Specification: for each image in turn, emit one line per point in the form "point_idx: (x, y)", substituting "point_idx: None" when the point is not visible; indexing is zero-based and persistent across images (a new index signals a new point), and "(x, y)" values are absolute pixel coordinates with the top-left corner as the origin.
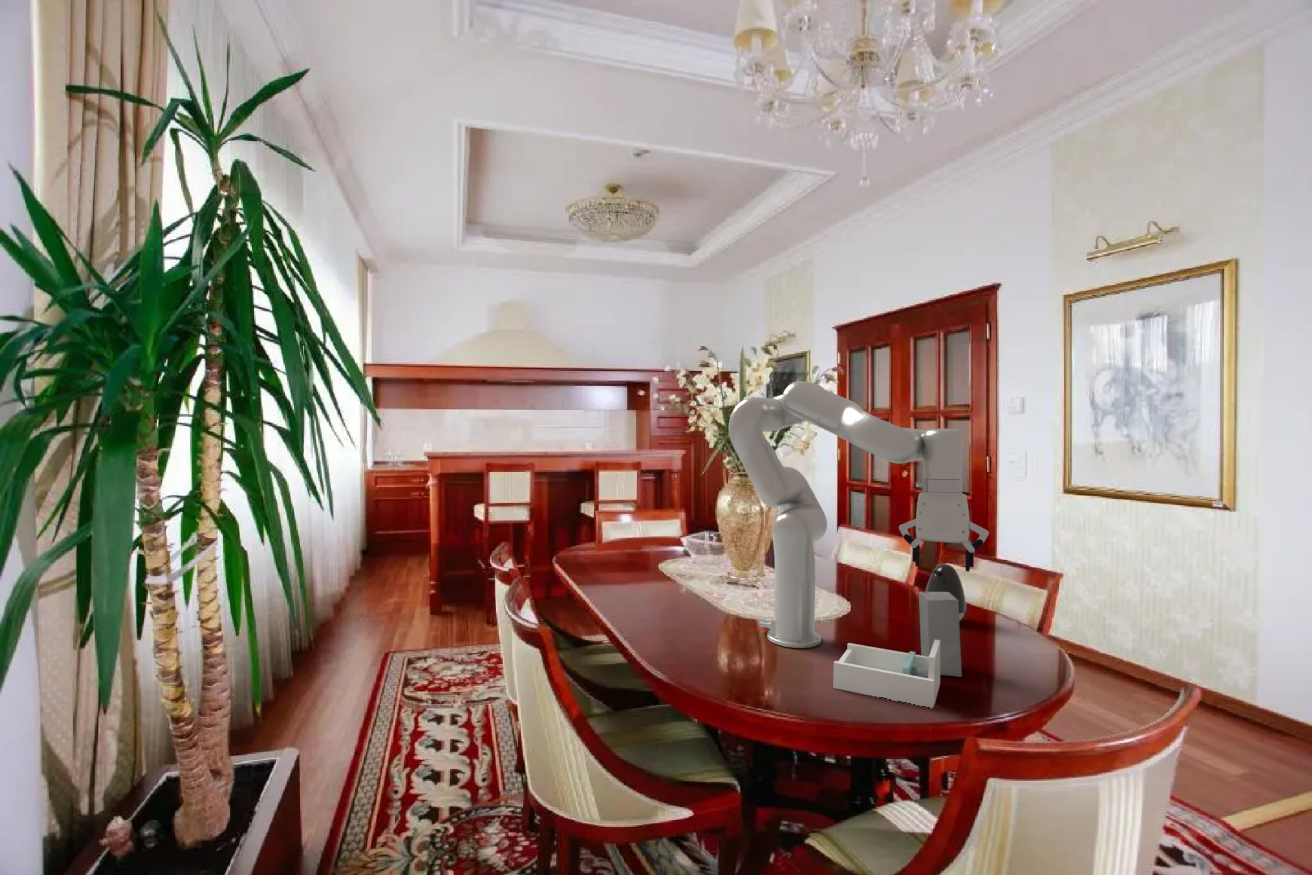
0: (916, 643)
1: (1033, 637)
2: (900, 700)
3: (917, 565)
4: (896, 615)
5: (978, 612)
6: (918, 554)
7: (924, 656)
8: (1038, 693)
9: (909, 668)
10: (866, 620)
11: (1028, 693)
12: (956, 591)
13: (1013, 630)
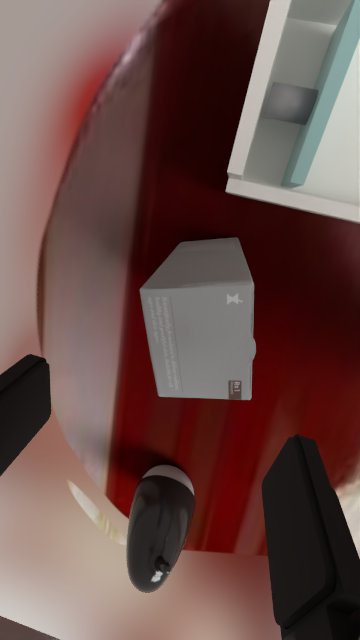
0: None
1: (67, 429)
2: None
3: (303, 438)
4: (236, 493)
5: (123, 502)
6: (317, 519)
7: (261, 196)
8: (70, 206)
9: (345, 23)
10: None
11: (84, 200)
12: (140, 515)
13: (88, 449)
